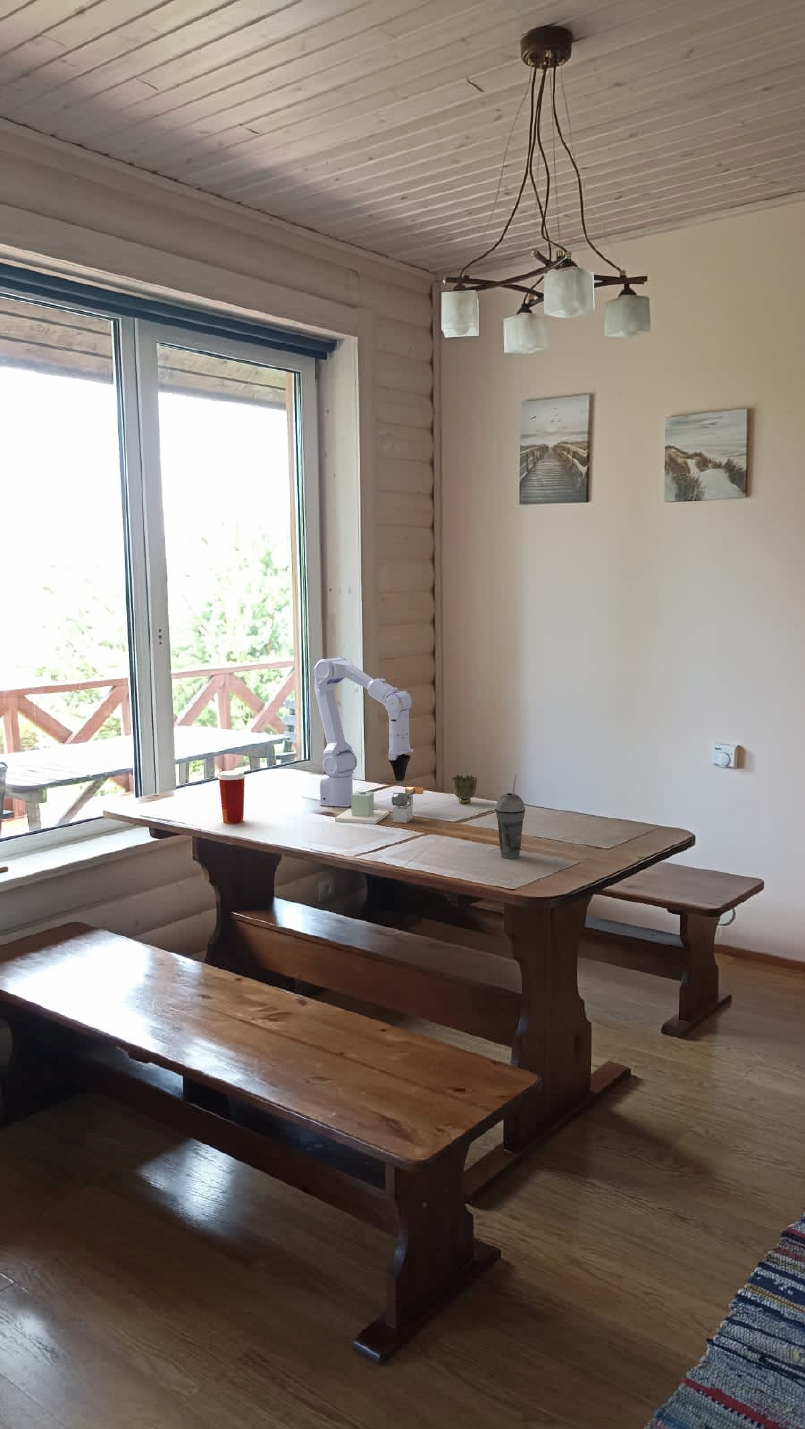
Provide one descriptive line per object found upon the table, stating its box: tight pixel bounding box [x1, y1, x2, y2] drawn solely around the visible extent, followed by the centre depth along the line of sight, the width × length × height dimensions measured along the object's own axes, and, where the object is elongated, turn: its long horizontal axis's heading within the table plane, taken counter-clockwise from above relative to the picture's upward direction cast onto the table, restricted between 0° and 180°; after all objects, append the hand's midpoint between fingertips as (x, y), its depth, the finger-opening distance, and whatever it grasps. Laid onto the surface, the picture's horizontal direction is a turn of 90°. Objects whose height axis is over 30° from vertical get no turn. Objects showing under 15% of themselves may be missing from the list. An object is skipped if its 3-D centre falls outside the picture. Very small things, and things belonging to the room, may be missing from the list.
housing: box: [350, 790, 375, 817], centre depth 285 cm, size 5×5×6 cm
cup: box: [452, 774, 478, 805], centre depth 302 cm, size 8×7×8 cm
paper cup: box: [217, 769, 246, 825], centre depth 282 cm, size 8×8×14 cm
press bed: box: [334, 807, 390, 825], centre depth 285 cm, size 12×12×1 cm
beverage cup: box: [494, 775, 526, 860], centre depth 243 cm, size 7×7×20 cm
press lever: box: [391, 786, 425, 807], centre depth 285 cm, size 5×17×4 cm, turn 163°
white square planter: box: [392, 794, 414, 824], centre depth 281 cm, size 4×6×7 cm
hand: (399, 780), depth 290 cm, fingers closed
